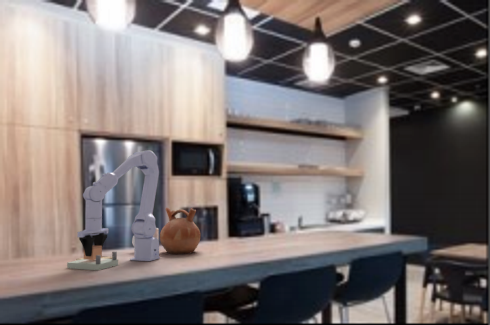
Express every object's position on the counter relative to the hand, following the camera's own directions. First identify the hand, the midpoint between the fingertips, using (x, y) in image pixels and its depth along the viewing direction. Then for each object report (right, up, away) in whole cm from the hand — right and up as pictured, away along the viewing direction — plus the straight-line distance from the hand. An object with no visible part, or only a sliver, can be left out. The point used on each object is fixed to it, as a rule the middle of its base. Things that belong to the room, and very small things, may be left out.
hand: (93, 255), depth 155 cm
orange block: (0, -1, 0) cm, 1 cm away
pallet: (-3, -5, +12) cm, 13 cm away
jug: (+27, -6, +32) cm, 43 cm away
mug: (+11, -7, +36) cm, 38 cm away
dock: (0, -4, 0) cm, 4 cm away
